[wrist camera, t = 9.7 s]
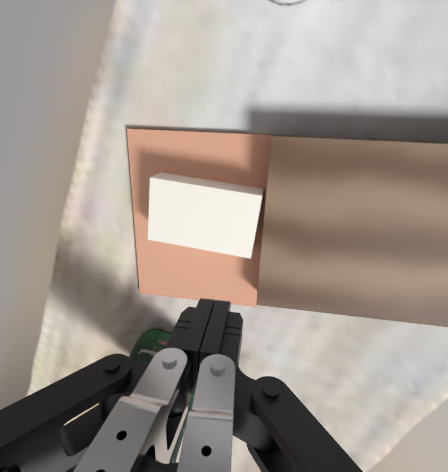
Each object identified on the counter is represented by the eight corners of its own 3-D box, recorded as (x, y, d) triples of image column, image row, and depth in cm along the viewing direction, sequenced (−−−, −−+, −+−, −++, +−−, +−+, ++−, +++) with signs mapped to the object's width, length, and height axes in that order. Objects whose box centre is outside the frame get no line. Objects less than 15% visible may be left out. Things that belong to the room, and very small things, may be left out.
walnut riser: (271, 134, 26) (271, 136, 24) (492, 144, 24) (521, 147, 21) (257, 289, 32) (256, 304, 29) (434, 308, 30) (451, 327, 27)
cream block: (161, 172, 29) (149, 177, 26) (263, 188, 28) (262, 195, 25) (158, 229, 31) (147, 239, 28) (252, 246, 30) (250, 258, 27)
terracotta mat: (128, 128, 28) (126, 128, 28) (271, 134, 26) (271, 135, 26) (141, 291, 35) (139, 293, 34) (256, 304, 33) (255, 306, 32)
